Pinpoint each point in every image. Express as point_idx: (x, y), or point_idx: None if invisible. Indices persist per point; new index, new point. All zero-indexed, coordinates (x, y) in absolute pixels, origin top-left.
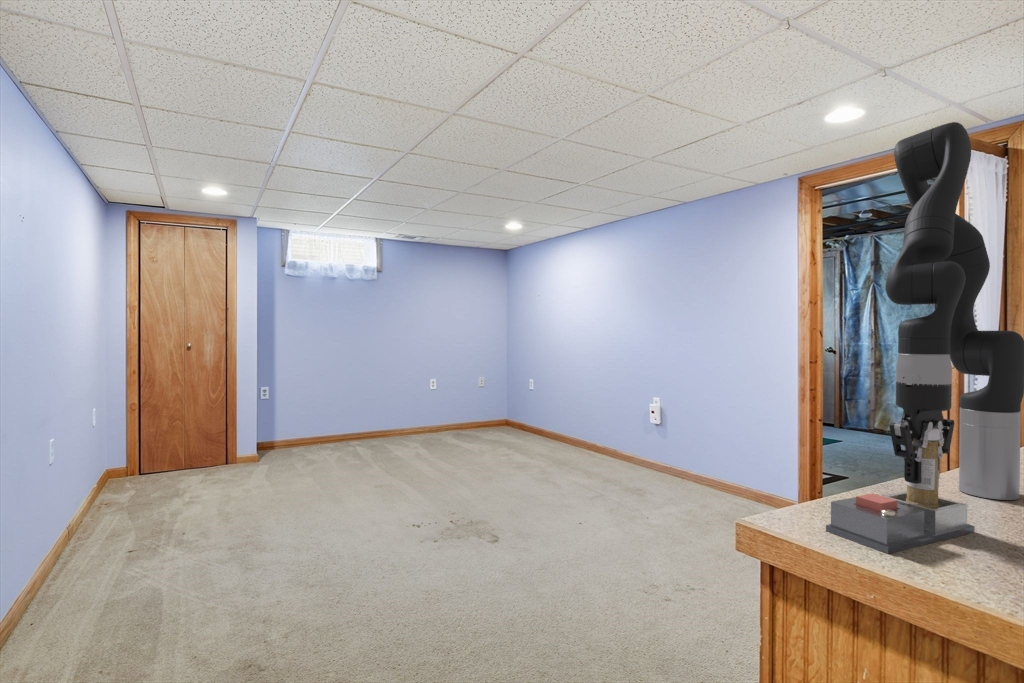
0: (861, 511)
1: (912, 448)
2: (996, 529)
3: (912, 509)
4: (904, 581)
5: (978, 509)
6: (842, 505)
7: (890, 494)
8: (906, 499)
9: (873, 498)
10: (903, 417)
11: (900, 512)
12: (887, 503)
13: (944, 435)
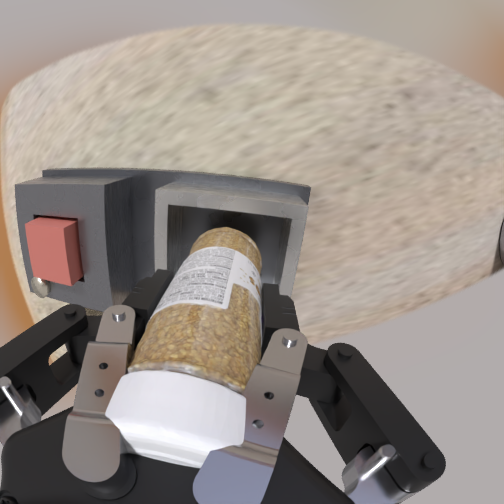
0: (21, 248)
1: (75, 380)
2: (337, 317)
3: (101, 297)
4: (30, 310)
5: (442, 255)
6: (17, 210)
7: (197, 195)
8: (203, 235)
9: (41, 252)
10: (3, 460)
11: (68, 291)
12: (48, 278)
13: (342, 445)
